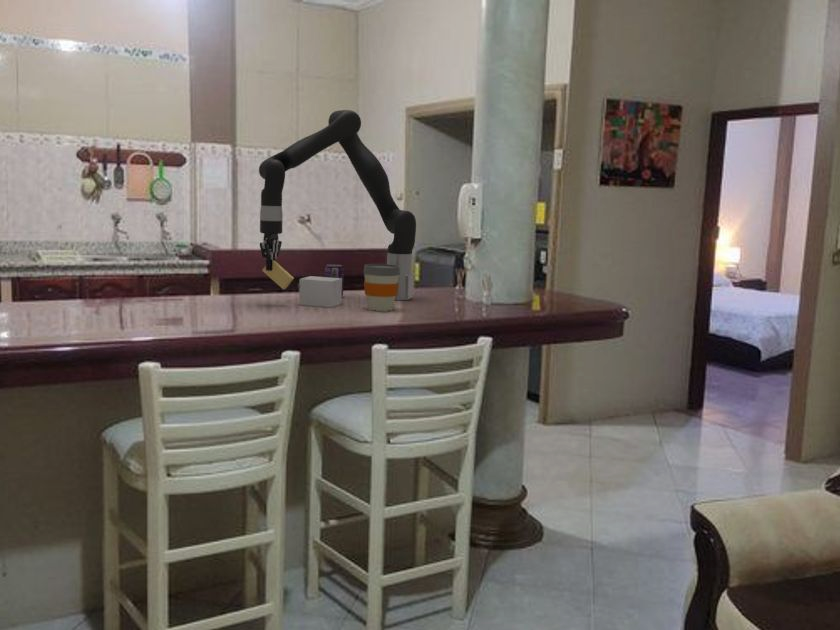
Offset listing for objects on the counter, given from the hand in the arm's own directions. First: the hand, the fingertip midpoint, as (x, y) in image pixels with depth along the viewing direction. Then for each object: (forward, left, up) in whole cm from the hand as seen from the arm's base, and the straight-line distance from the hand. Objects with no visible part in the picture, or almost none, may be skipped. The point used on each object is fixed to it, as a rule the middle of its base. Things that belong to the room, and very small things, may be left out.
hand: (270, 269), depth 271 cm
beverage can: (-13, -28, -12) cm, 33 cm away
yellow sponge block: (-1, 0, -3) cm, 3 cm away
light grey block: (-15, -9, -12) cm, 21 cm away
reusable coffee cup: (-37, -9, -12) cm, 40 cm away
